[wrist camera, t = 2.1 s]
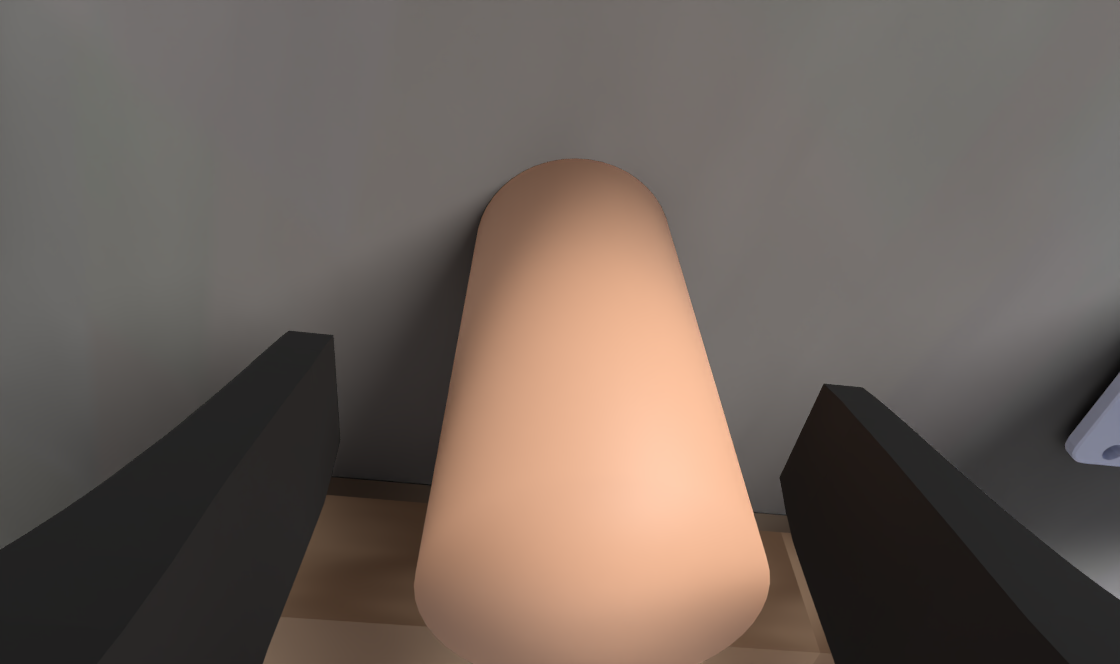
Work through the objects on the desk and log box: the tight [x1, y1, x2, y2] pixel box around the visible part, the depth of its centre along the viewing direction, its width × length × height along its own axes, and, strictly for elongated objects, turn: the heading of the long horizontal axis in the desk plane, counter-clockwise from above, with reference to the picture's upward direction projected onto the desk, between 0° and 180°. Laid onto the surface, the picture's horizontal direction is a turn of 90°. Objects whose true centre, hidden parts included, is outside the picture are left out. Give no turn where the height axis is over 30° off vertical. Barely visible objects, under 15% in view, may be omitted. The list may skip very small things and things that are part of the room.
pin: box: [414, 159, 770, 664], centre depth 11 cm, size 4×4×8 cm
